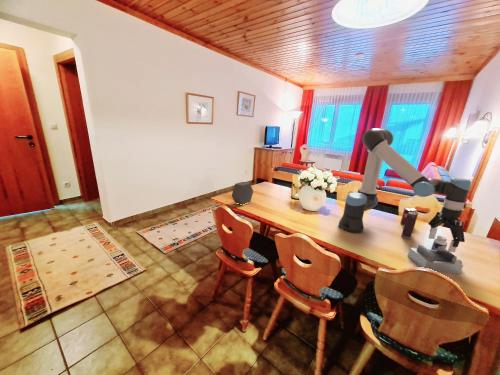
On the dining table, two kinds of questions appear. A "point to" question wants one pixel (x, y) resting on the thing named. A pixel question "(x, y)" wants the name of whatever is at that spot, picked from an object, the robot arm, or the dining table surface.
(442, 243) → the pill bottle
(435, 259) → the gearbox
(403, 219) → the soda can
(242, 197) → the planter
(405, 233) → the supplement box
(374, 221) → the dining table surface
